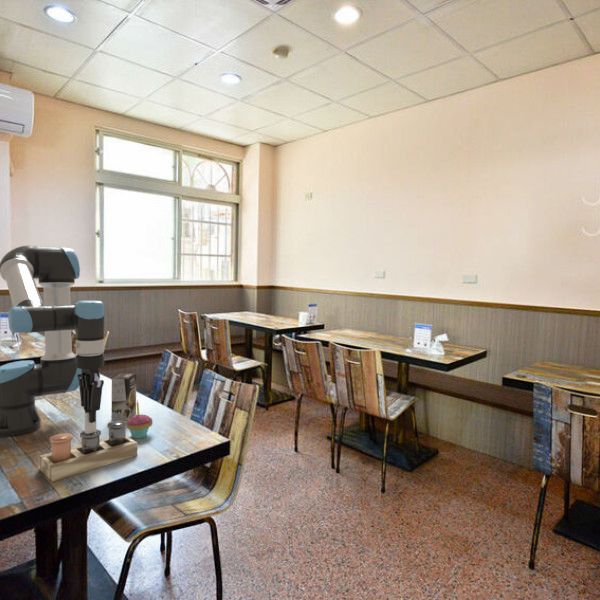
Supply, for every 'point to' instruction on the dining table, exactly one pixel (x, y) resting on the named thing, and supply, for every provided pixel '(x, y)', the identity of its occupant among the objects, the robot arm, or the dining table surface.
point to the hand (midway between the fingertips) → (90, 431)
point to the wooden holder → (87, 459)
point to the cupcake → (139, 424)
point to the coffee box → (123, 396)
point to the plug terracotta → (61, 447)
